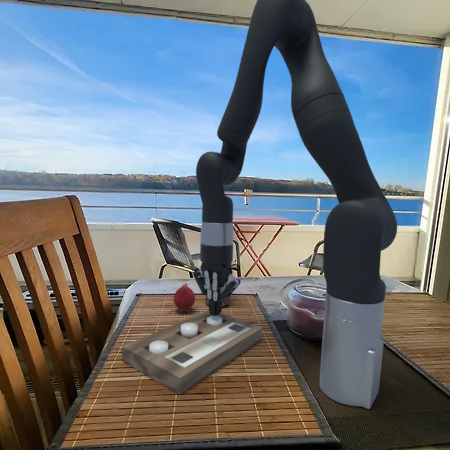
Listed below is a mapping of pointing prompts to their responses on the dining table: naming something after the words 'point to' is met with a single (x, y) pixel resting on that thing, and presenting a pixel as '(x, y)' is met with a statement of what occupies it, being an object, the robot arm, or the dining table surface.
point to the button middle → (189, 330)
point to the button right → (214, 320)
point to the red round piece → (184, 298)
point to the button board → (191, 350)
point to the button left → (158, 347)
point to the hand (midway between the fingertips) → (215, 314)
